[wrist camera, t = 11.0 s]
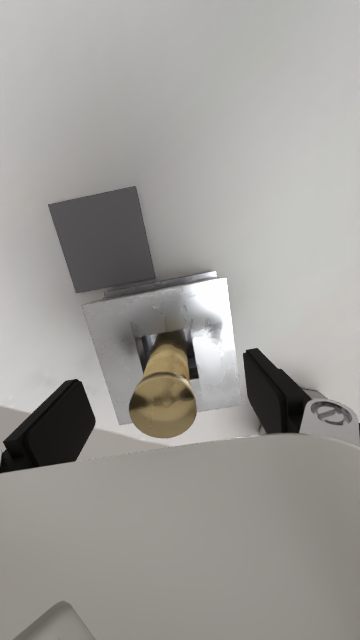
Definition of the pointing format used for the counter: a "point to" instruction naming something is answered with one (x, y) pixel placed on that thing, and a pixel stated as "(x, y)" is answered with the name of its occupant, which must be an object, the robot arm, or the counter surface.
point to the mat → (103, 239)
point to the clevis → (163, 316)
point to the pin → (165, 390)
